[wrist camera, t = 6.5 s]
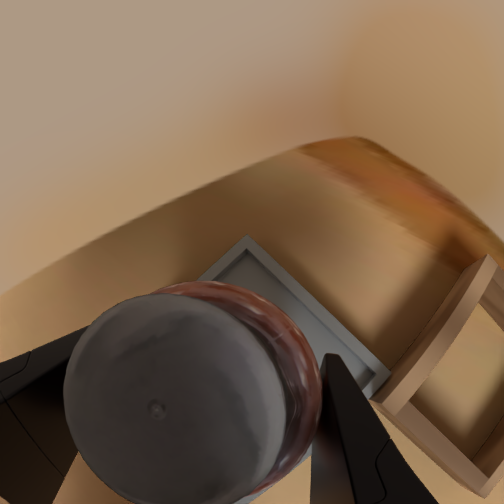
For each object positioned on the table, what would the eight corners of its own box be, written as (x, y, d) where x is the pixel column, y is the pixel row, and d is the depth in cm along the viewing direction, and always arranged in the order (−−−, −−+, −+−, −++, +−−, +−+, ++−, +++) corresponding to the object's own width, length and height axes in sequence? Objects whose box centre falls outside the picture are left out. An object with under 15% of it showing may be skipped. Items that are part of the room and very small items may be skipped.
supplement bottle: (159, 379, 15) (-13, 374, 5) (237, 298, 16) (164, 171, 6) (242, 459, 13) (177, 595, 3) (325, 376, 15) (424, 390, 4)
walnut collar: (461, 486, 12) (484, 498, 10) (365, 398, 16) (381, 403, 13) (542, 363, 14) (568, 358, 12) (464, 268, 18) (487, 253, 15)
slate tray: (242, 499, 14) (238, 509, 13) (118, 364, 17) (106, 363, 16) (383, 372, 16) (392, 372, 15) (249, 243, 19) (246, 233, 18)
